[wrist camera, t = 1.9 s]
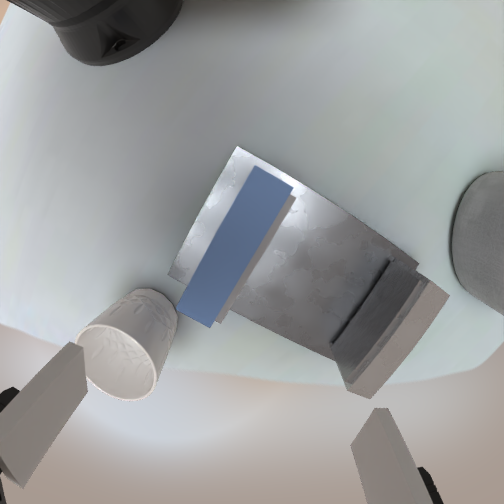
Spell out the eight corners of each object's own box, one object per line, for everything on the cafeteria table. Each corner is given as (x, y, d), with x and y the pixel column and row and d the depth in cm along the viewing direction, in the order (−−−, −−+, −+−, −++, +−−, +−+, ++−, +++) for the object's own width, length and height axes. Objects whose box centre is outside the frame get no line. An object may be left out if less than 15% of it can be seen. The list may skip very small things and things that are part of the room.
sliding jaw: (193, 279, 29) (175, 309, 22) (255, 168, 26) (254, 164, 19) (225, 297, 29) (216, 331, 22) (290, 188, 26) (301, 192, 20)
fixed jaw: (327, 348, 30) (342, 388, 23) (391, 255, 28) (425, 277, 21) (351, 360, 31) (369, 399, 24) (414, 271, 28) (449, 295, 21)
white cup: (135, 268, 30) (88, 305, 20) (196, 310, 31) (172, 364, 21) (108, 319, 31) (65, 365, 21) (163, 357, 32) (136, 414, 22)
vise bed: (170, 271, 30) (167, 274, 29) (237, 147, 27) (236, 146, 26) (344, 361, 32) (346, 365, 31) (414, 261, 29) (419, 263, 28)
